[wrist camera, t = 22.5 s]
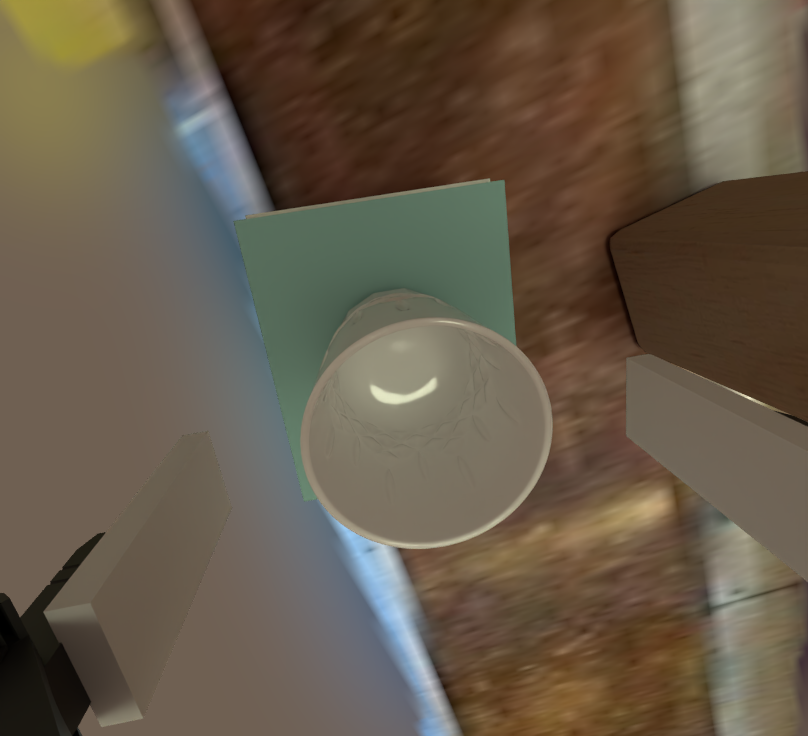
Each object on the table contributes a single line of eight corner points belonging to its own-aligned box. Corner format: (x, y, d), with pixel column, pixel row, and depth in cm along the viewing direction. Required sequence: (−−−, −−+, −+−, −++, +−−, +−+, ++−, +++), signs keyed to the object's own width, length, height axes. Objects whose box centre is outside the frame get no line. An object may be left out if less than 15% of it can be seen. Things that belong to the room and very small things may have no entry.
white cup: (294, 312, 23) (253, 381, 13) (444, 250, 23) (512, 275, 13) (357, 445, 25) (361, 583, 16) (493, 390, 25) (580, 496, 16)
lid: (245, 220, 24) (233, 220, 21) (489, 183, 24) (504, 179, 22) (307, 477, 28) (304, 501, 26) (510, 440, 29) (524, 460, 27)
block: (635, 353, 38) (924, 483, 19) (599, 235, 35) (903, 248, 16) (750, 299, 37) (1164, 377, 18) (725, 176, 34) (1191, 115, 15)
